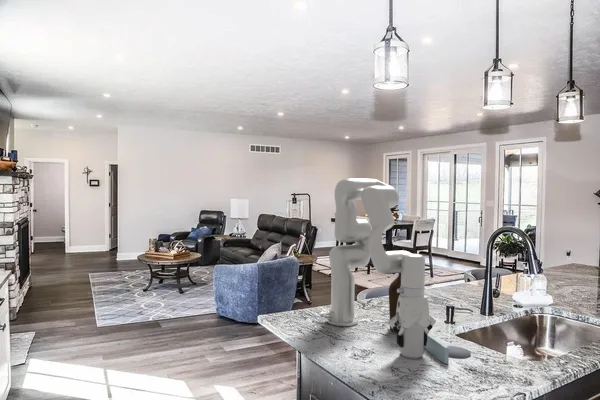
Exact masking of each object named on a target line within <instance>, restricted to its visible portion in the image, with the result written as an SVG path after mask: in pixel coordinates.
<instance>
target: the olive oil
mask: <svg viewBox="0 0 600 400" xmlns="http://www.w3.org/2000/svg"><path fill="white" fill-rule="evenodd" d="M400 286H401V273H398V276H396V278H395V279H393V281H392V282H391V283H390V285H389V288H388V309H389V310H388V311H389V313H388V314H389V320H391V319H392V318H393V317H394V316H395V315H396V310H397V302H398V298H399V295H401V294H400V293H397V289H399V288H400ZM394 325H395V326H396V327H397V326H398V324H397V323H396V322H395V323H394ZM389 330H390V331H391V332H392V333H395V334H397V333H396V332H395V331H394V330H393V329H392V328H391V326H390V325H389Z"/></svg>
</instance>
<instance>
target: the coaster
mask: <svg viewBox="0 0 600 400" xmlns="http://www.w3.org/2000/svg"><path fill="white" fill-rule="evenodd" d="M446 346H447V347H449V358H452V359H454V358H455V359H467V358H470V357H471V355H472V353H471V351H470V350H468V349H467V348H464V347H461V346H455V345H446Z"/></svg>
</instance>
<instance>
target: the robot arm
mask: <svg viewBox="0 0 600 400" xmlns="http://www.w3.org/2000/svg"><path fill="white" fill-rule="evenodd" d="M399 199H400V198H399V193H398V191H397V189H395V187H393V186H392V185H389V184H388V183H385V182H382V181H380V180H378V179H375V178H360V177H359V178H358V177H357V178H356V177H355V178H354V177H351V178H349V177H347V178H343V179H340V180H339V181H338V182H337V184H336V185H335V188H334V203H335V218H334V219H335V222H334V238H335V239H336V240H337V241H338V242H339V243H354V244H342V245H336V246H334V247H333V248H331V249H330V251H329V254H328V259H329V265H330V273H331V275H330V276H331V277H330V278H331V285H330V287H331V289H330V290H331V294H330V298H331V299H330V309H328V311H326V312H319V317H320V318H324V319H326V320H327V321H326V322H327V323H328V324H330V325H333V326H337V327H351V326H352V327H353V326H355V325H357V324H358V323H359V319H358V318H357V317H356V316H355V287H356V286H355V285H356V284H355V277H354V275H353V273H352V271H351V269H353V268H354V269H355V268H364V267H366V266H367V265H368V264H369V263H370V261H371V263H372V266H373V267H374V269H375V270H376V271H377V272H378V273H380V274H381V275H382V274H383V275H388V274H399V273H401V286H400V288H399V289H397V293H400V294H401V295H399V298H398V302H397V310H396V315H395V316H394V317H393V318H392V319H391V320H390V319H389V320H388V321H387V323H388V326H389V327H390V326H391V328H392V329H393V330H394V331H395V332H396V333H395V335H396V337H395V339H396V340H395V341H396V344H397V346H399V348H400V347H401V348H402V347H403V335H402V333H403V331H404V328H405V329H407V328H409V327H410V326H411V325H413V324H414V323H413V322H420V323H418V324H420V325H421V326H423V328H424V346H426V342H427V334H430V331H431V330H432V329H433V327H434V325H436V322H437V321H436V319H435V318H434V317H432V316H431V315H430V308H429V307H430V305H429V300H428V296H427V295H425V286H426V285H425V283H426V282H425V277H426V275H425V273H426V257H424V255H422V254H418V253H412V252H410V251H407V250H387V251H386V250H385V248H384V244H383V242H382V236H383V233H384V232H386V231H388V230H390V229H391V228H392V227H394V225H395V222H396V220H395V218H394V216H393V213H392V211H391V209H392V208H395V207H397V205H398V204H399V201H400V200H399ZM356 200H358V201H361V202H362V204H363V206H364V209H365V213H366V215H367V218H368V220H367V219H365V218H364V219H363V218H357V215H358V214H357V213H358V209H357V206H356V204H355V202H354V201H356ZM395 322H396V323H397V324H398V326H397V327H396V326H395V325H394V323H395Z"/></svg>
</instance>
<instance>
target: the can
mask: <svg viewBox="0 0 600 400" xmlns="http://www.w3.org/2000/svg"><path fill="white" fill-rule="evenodd" d="M413 323H414V324H413V325H411V326H410V327H409V328H407V329H405V328H404V331H403V333H402V335H403V347H402V348H401V347H400V346H399V353H400V354H401V355H402V357H404V358H407V359H413V360H414V359H415V360H417V359H419V358H422V356H424V353H425V352H424V351H425V350H424V349H425V348H424V328H423V326H421V325H420V324H418V323H420V322H413Z"/></svg>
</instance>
